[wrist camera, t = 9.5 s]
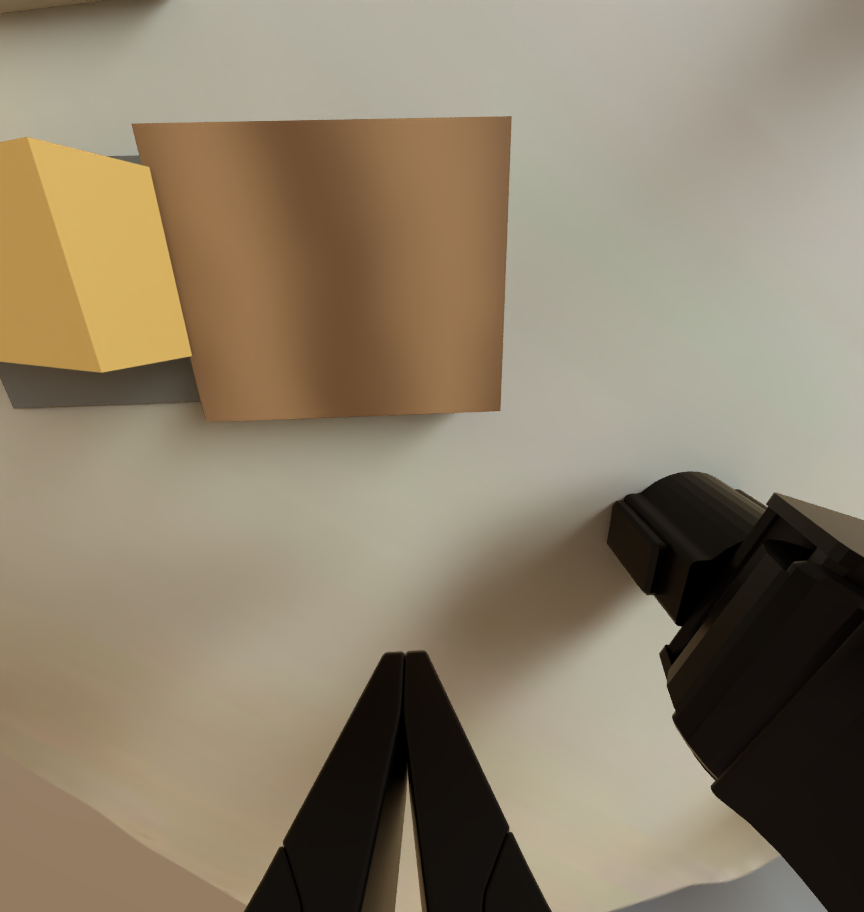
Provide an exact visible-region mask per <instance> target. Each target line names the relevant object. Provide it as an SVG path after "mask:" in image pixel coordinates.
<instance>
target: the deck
mask: <svg viewBox="0 0 864 912" xmlns="http://www.w3.org/2000/svg"><path fill="white" fill-rule="evenodd" d="M511 117H512V116H507V117H455V118H404V119H352V120H300V121H249V122H197V123H146V124H132V128H133V132H134V136H135V140H136V144H137V148H138V152H139V156H140V160H141V164H142V165H143V166H147V167H149V168H150V172H151V177H152V181H153V186H154V190H155V194H156V199H157V203H158V208H159V212H160V216H161V221H162V225H163V230H164V234H165V239H166V243H167V247H168V252H169V256H170V261H171V265H172V269H173V274H174V278H175V283H176V287H177V292H178V296H179V300H180V305H181V309H182V314H183V318H184V323H185V327H186V331H187V336H188V340H189V345H190V349H191V353H192V356H190V359H191V363H192V367H193V371H194V375H195V379H196V383H197V387H198V391H199V395H200V399H201V403H202V407H203V411H204V415H205V419H206V422H220V421H247V420H273V419H300V418H327V417H353V416H380V415H407V414H433V413H460V412H487V411H500V405H501V379H502V353H503V326H504V300H505V274H506V248H507V222H508V196H509V170H510V143H511Z"/></svg>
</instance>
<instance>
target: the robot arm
mask: <svg viewBox="0 0 864 912" xmlns="http://www.w3.org/2000/svg"><path fill="white" fill-rule="evenodd" d="M766 505H767V506H768V507H766V506H765V505H763V504H762V503H760V502H759V501H757V500H755V499H754V498H752V497H751V496H749V495H748V494H746V493H744V492H743V491H741V490H738V489H732V488H731V487H729V486H728V485H726V484H725V483H723V482H722V481H720V480H719V479H717V478H715V477H713V476H711V475H709V474H706V473H701V472H681V473H676V474H673V475H669V476H667V477H665V478H662V479H660V480H658V481H657V482H655V483H653V484H652V485H650V486H649V487H648V488H647V489H645V490H644V491H643V492H642V493H639V494H629V495H627V496H626V497H625V498H624V501H616V502H615V504H614V505H613V509H612V515H611V521H610V528H609V534H608V540H607V544H608V545H609V547H610V548H611V549H612V551H613V552H614V554H615V555H616V556H617V558H618V559H619V560H620V562H621V563H622V564H623V566H624V567H625V568H626V570H627V571H628V573H629V574H630V575H631V577H632V578H633V579H634V581H635V582H636V583H637V585H638V586H639V587H640V589H641V590H642V591H643V592H644V593H645V594H646V595H654V596H655V598H656V599H657V600H658V602H659V603H660V604H661V605H662V607H663V608H664V609H665V611H666V612H667V613H668V615H669V616H670V617H671V618H672V620H673V621H674V622H675V624H676V625H677V626H682V627H681V629H680V630H679V631H678V633H677V634H676V636H675V637H674V638H673V640H672V641H671V643H670V644H669V645H665V646H664V648H663V649H662V651H661V652H660V653H659V655H660V659H661V662H662V666H663V669H664V672H665V676H666V679H667V688H668V691H669V694H670V697H671V700H672V703H673V706H674V708H675V710H676V711H675V712H674V714H673V715H672V719H673V721H674V724H675V726H676V728H677V730H678V731H679V733H680V734H681V736H682V737H683V739H684V741H685V742H686V744H687V745H688V747H689V748H690V749H691V751H692V752H693V754H694V756H695V757H696V759H697V760H698V761H699V762H700V764H701V765H702V766H703V768H704V769H705V770H706V771H707V772H708V773H709V774H710V776H711V777H712V778H713V779H714V780H715V782H714V783H713V784H712V785H711V790H712V792H713V793H714V794H715V796H716V797H718V798H719V799H720V800H721V801H722V802H724V803H725V804H726V805H727V806H729V807H730V808H731V809H732V810H734V811H735V812H736V813H737V814H739V815H740V816H741V817H742V818H744V819H745V820H746V821H747V822H749V823H750V824H751V825H752V826H753V827H754V828H755V829H756V830H757V831H758V832H759V833H760V834H761V835H762V836H763V837H764V838H765V839H766V840H767V841H768V842H769V843H770V844H771V845H772V846H773V847H774V848H775V849H776V850H777V851H778V852H779V853H780V854H781V856H782V857H783V858H784V859H785V860H786V861H787V862H788V864H789V865H790V866H791V867H792V868H793V869H794V871H795V872H796V873H797V874H798V875H799V876H800V877H801V879H802V880H803V881H804V882H805V884H806V885H807V886H808V887H809V889H810V890H811V891H812V892H813V893H814V895H815V896H816V897H817V898H818V900H819V901H820V902H821V903H822V904H823V906H824V907H825V908H826V909H827V911H828V912H864V520H861V519H858V518H855V517H852V516H849V515H845V514H842V513H839V512H836V511H833V510H830V509H826V508H823V507H820V506H817V505H814V504H811V503H807V502H804V501H801V500H798V499H795V498H792V497H788V496H785V495H782V494H779V493H775V492H774V494H773V495H772V496H771V498H770V499H769V501H768V502H767V503H766ZM407 774H408V780H409V793H410V803H411V812H412V821H413V831H414V840H415V850H416V859H417V868H418V878H419V887H420V896H421V906H422V912H552V911H551V909H550V907H549V906H548V904H547V902H546V900H545V898H544V896H543V894H542V892H541V890H540V888H539V886H538V884H537V882H536V880H535V878H534V876H533V874H532V872H531V870H530V868H529V866H528V864H527V862H526V860H525V858H524V856H523V854H522V852H521V850H520V848H519V846H518V844H517V841H516V839H515V837H514V835H513V833H512V832H509V825H508V823H507V821H506V819H505V817H504V815H503V812H502V810H501V808H500V806H499V804H498V802H497V800H496V798H495V795H494V793H493V791H492V789H491V787H490V785H489V783H488V781H487V779H486V776H485V774H484V772H483V770H482V768H481V766H480V764H479V762H478V759H477V757H476V755H475V753H474V751H473V749H472V747H471V745H470V743H469V740H468V738H467V736H466V734H465V732H464V730H463V728H462V726H461V723H460V721H459V719H458V717H457V715H456V713H455V711H454V709H453V707H452V704H451V702H450V700H449V698H448V696H447V694H446V692H445V690H444V687H443V685H442V683H441V681H440V679H439V677H438V675H437V673H436V671H435V668H434V666H433V664H432V662H431V660H430V658H429V656H428V654H427V652H426V651H423V650H421V651H408V652H407V653H406V654H404V653H403V652H387V653H385V654H384V655H383V656H382V658H381V659H380V661H379V663H378V665H377V667H376V669H375V671H374V672H373V674H372V676H371V678H370V680H369V682H368V684H367V685H366V687H365V689H364V691H363V693H362V695H361V697H360V699H359V700H358V702H357V704H356V706H355V708H354V710H353V712H352V713H351V715H350V717H349V719H348V721H347V723H346V725H345V726H344V728H343V730H342V732H341V734H340V736H339V738H338V740H337V741H336V743H335V745H334V747H333V749H332V751H331V753H330V754H329V756H328V758H327V760H326V762H325V764H324V766H323V767H322V769H321V771H320V773H319V775H318V777H317V779H316V781H315V782H314V784H313V786H312V788H311V790H310V792H309V794H308V795H307V797H306V799H305V801H304V803H303V805H302V807H301V808H300V810H299V812H298V814H297V816H296V818H295V820H294V822H293V823H292V825H291V827H290V829H289V831H288V833H287V835H286V836H285V838H284V840H283V845H284V847H280V848H279V849H278V851H277V853H276V855H275V856H274V858H273V860H272V862H271V864H270V866H269V868H268V870H267V871H266V873H265V875H264V877H263V879H262V881H261V882H260V884H259V886H258V888H257V889H256V891H255V893H254V895H253V896H252V898H251V900H250V902H249V904H248V905H247V907H246V909H245V911H244V912H395V903H396V893H397V883H398V873H399V863H400V852H401V842H402V832H403V822H404V812H405V802H406V791H407Z"/></svg>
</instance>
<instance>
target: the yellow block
mask: <svg viewBox="0 0 864 912" xmlns="http://www.w3.org/2000/svg"><path fill="white" fill-rule="evenodd" d="M190 356H192V353H191V349H190V345H189V340H188V336H187V331H186V327H185V323H184V318H183V314H182V309H181V305H180V300H179V296H178V292H177V287H176V283H175V278H174V274H173V269H172V265H171V261H170V256H169V252H168V247H167V243H166V239H165V234H164V230H163V225H162V221H161V216H160V212H159V208H158V203H157V199H156V194H155V190H154V186H153V181H152V177H151V172H150V168H149V167H147V166H143V165H139V164H135V163H131V162H127V161H123V160H119V159H115V158H110V157H106V156H102V155H98V154H94V153H90V152H86V151H82V150H78V149H74V148H70V147H66V146H62V145H58V144H54V143H50V142H46V141H41V140H37V139H33V138H29V137H25V138H20V139H14V140H9V141H4V142H0V362H8V363H17V364H27V365H36V366H45V367H54V368H63V369H72V370H82V371H91V372H100V373H103V372H108V371H114V370H119V369H124V368H130V367H135V366H141V365H146V364H152V363H157V362H162V361H168V360H173V359H179V358H184V357H190Z"/></svg>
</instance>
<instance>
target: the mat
mask: <svg viewBox="0 0 864 912" xmlns="http://www.w3.org/2000/svg"><path fill="white" fill-rule="evenodd" d="M106 157H110V158H115V159H119V160H123V161H127V162H131V163H135V164H139V165H142V164H141V160H140V156H106ZM0 378H1V380H2V383H3V385H4V387H5V390H6V392H7V394H8V396H9V399H10V401H11V403H12V406H13V408H38V407H65V406H93V405H120V404H148V403H176V402H201V399H200V395H199V391H198V387H197V383H196V379H195V375H194V371H193V367H192V363H191V359H190V357H184V358H179V359H173V360H168V361H162V362H157V363H152V364H146V365H141V366H135V367H130V368H124V369H119V370H114V371H108V372H103V373H100V372H91V371H82V370H72V369H63V368H54V367H45V366H36V365H27V364H17V363H8V362H0Z"/></svg>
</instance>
